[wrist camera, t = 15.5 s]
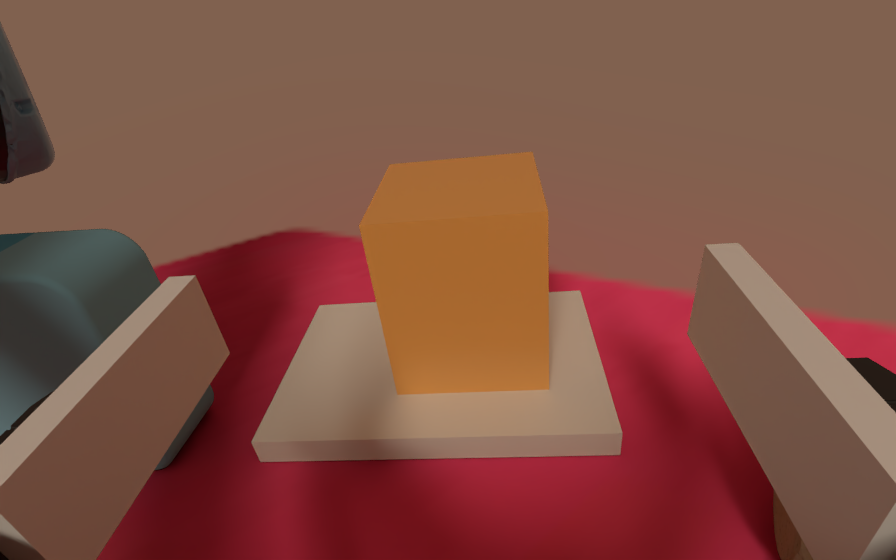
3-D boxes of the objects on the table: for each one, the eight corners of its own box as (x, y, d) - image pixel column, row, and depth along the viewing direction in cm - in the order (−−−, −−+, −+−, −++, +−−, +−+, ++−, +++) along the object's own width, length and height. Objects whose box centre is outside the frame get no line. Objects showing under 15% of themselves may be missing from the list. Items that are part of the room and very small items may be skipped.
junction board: (260, 462, 25) (202, 340, 21) (324, 322, 36) (294, 221, 31) (620, 454, 23) (634, 318, 19) (579, 309, 33) (583, 199, 29)
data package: (224, 408, 29) (134, 225, 23) (180, 473, 25) (59, 275, 19) (50, 406, 31) (-76, 237, 25) (-15, 467, 27) (-183, 285, 21)
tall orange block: (397, 394, 26) (358, 225, 21) (415, 308, 33) (389, 164, 28) (549, 389, 25) (548, 211, 20) (535, 301, 32) (532, 151, 27)
